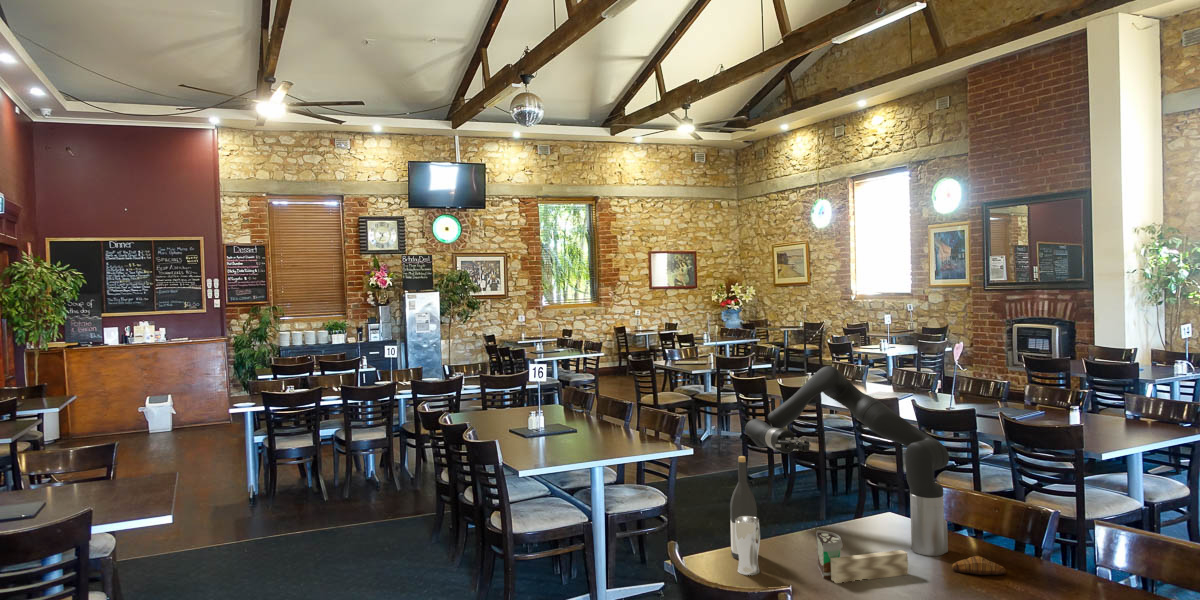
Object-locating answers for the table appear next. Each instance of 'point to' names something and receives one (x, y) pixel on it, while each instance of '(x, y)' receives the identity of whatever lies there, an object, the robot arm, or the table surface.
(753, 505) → the wine bottle
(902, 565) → the maple board
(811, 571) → the table surface
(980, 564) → the croissant
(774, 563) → the table surface
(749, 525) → the beer glass
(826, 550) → the food container
